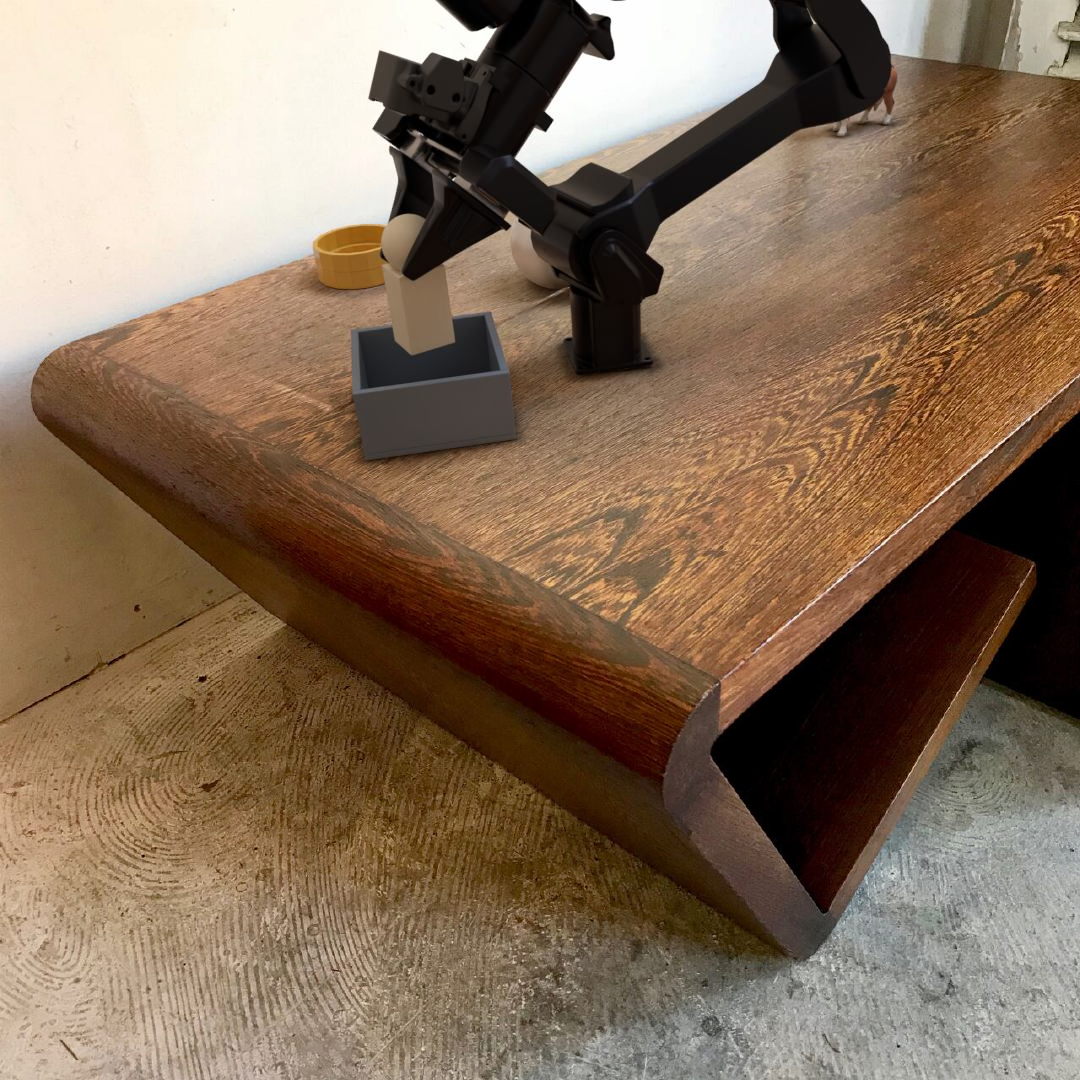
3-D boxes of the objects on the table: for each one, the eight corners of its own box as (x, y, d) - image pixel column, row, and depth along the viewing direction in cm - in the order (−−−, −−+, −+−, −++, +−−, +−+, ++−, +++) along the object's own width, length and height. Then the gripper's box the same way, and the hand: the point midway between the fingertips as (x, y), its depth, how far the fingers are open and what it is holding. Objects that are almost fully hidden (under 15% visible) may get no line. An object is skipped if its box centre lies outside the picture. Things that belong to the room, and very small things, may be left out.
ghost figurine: (541, 314, 96) (533, 205, 90) (499, 281, 103) (489, 178, 97) (627, 291, 99) (625, 184, 93) (581, 260, 106) (576, 159, 100)
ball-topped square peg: (438, 325, 81) (420, 202, 76) (460, 343, 78) (443, 216, 73) (390, 340, 80) (368, 214, 74) (411, 358, 77) (390, 229, 71)
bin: (516, 439, 78) (509, 372, 75) (365, 460, 77) (352, 394, 74) (497, 373, 87) (490, 310, 84) (362, 391, 86) (350, 329, 83)
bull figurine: (797, 135, 136) (801, 67, 131) (880, 116, 140) (888, 50, 135) (818, 142, 133) (823, 73, 128) (903, 123, 137) (911, 56, 132)
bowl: (407, 287, 104) (401, 248, 101) (320, 299, 103) (311, 259, 101) (402, 257, 111) (397, 219, 108) (320, 267, 110) (313, 229, 108)
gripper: (377, -18, 74) (261, 175, 77) (498, 14, 60) (353, 247, 63) (488, 81, 81) (379, 253, 84) (618, 128, 68) (484, 333, 70)
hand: (395, 268), depth 75 cm, fingers closed on ball-topped square peg, 4 cm apart
